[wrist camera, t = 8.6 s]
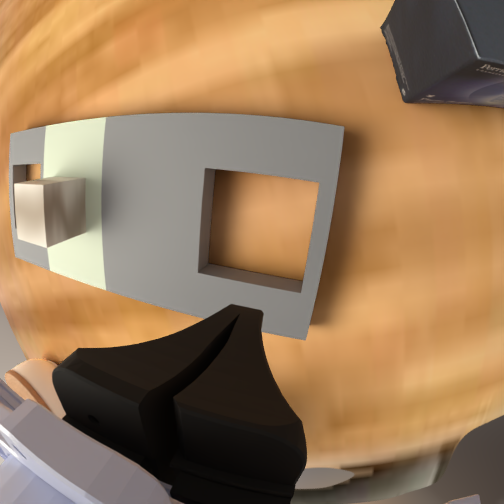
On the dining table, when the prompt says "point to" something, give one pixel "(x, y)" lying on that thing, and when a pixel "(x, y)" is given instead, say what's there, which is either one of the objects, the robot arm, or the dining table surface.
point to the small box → (448, 50)
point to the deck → (178, 206)
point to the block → (50, 210)
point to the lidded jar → (36, 383)
